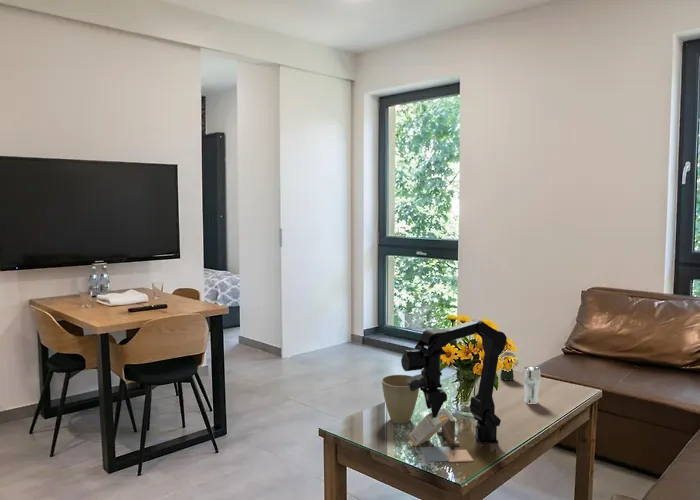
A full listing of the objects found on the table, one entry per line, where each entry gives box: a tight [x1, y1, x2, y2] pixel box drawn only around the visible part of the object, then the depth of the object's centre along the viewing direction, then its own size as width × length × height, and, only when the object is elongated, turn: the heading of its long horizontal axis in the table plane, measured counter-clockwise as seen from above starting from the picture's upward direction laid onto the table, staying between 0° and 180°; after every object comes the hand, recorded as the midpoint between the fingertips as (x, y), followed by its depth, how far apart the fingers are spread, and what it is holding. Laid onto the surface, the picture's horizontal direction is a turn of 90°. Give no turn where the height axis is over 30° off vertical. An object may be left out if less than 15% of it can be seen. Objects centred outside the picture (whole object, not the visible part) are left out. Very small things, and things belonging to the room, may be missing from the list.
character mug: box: [499, 351, 519, 381], centre depth 264 cm, size 11×7×13 cm, turn 43°
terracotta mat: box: [444, 449, 474, 463], centre depth 182 cm, size 8×8×1 cm
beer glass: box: [522, 365, 541, 403], centre depth 232 cm, size 7×7×15 cm
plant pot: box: [381, 374, 420, 425], centre depth 213 cm, size 15×15×16 cm
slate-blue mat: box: [420, 446, 455, 463], centre depth 183 cm, size 10×10×1 cm
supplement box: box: [407, 408, 449, 447], centre depth 190 cm, size 8×5×13 cm
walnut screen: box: [436, 408, 461, 447], centre depth 195 cm, size 5×12×9 cm, turn 6°
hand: (431, 413), depth 186 cm, fingers open, 8 cm apart
